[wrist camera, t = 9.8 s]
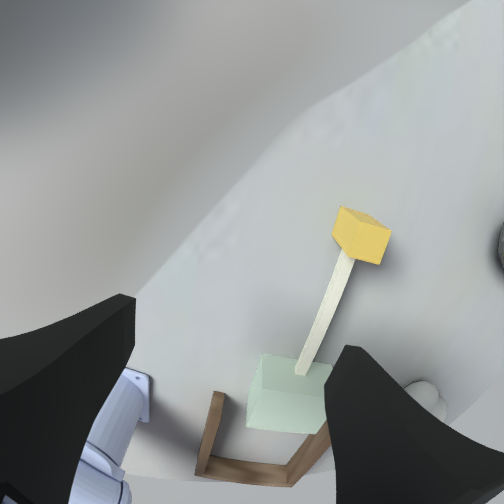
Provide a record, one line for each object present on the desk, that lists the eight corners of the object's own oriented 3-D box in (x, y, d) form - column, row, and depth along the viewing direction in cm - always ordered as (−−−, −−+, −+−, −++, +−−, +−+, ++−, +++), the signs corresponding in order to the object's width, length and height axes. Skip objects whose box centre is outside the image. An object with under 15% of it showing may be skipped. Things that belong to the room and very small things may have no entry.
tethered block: (248, 392, 24) (245, 426, 20) (311, 197, 18) (324, 210, 14) (310, 401, 24) (315, 434, 20) (392, 222, 18) (419, 240, 14)
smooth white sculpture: (384, 384, 25) (429, 365, 22) (411, 411, 26) (449, 395, 24) (384, 419, 21) (434, 402, 18) (412, 441, 23) (453, 427, 20)
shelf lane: (197, 456, 28) (194, 475, 25) (213, 390, 24) (209, 415, 21) (290, 468, 29) (291, 487, 26) (336, 408, 24) (341, 431, 21)
